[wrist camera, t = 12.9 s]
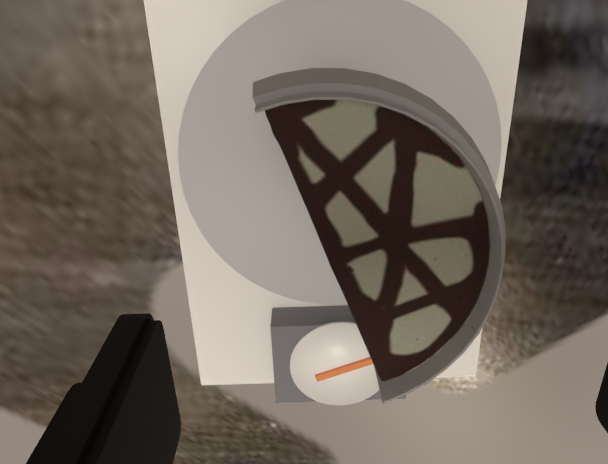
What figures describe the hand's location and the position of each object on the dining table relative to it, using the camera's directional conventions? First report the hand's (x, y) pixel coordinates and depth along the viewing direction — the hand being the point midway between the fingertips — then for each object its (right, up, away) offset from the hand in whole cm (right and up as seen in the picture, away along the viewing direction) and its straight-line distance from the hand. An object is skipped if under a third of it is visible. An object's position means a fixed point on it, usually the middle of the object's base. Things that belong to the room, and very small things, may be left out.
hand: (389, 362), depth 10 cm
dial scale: (0, +5, +20) cm, 21 cm away
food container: (+2, +6, +14) cm, 16 cm away
